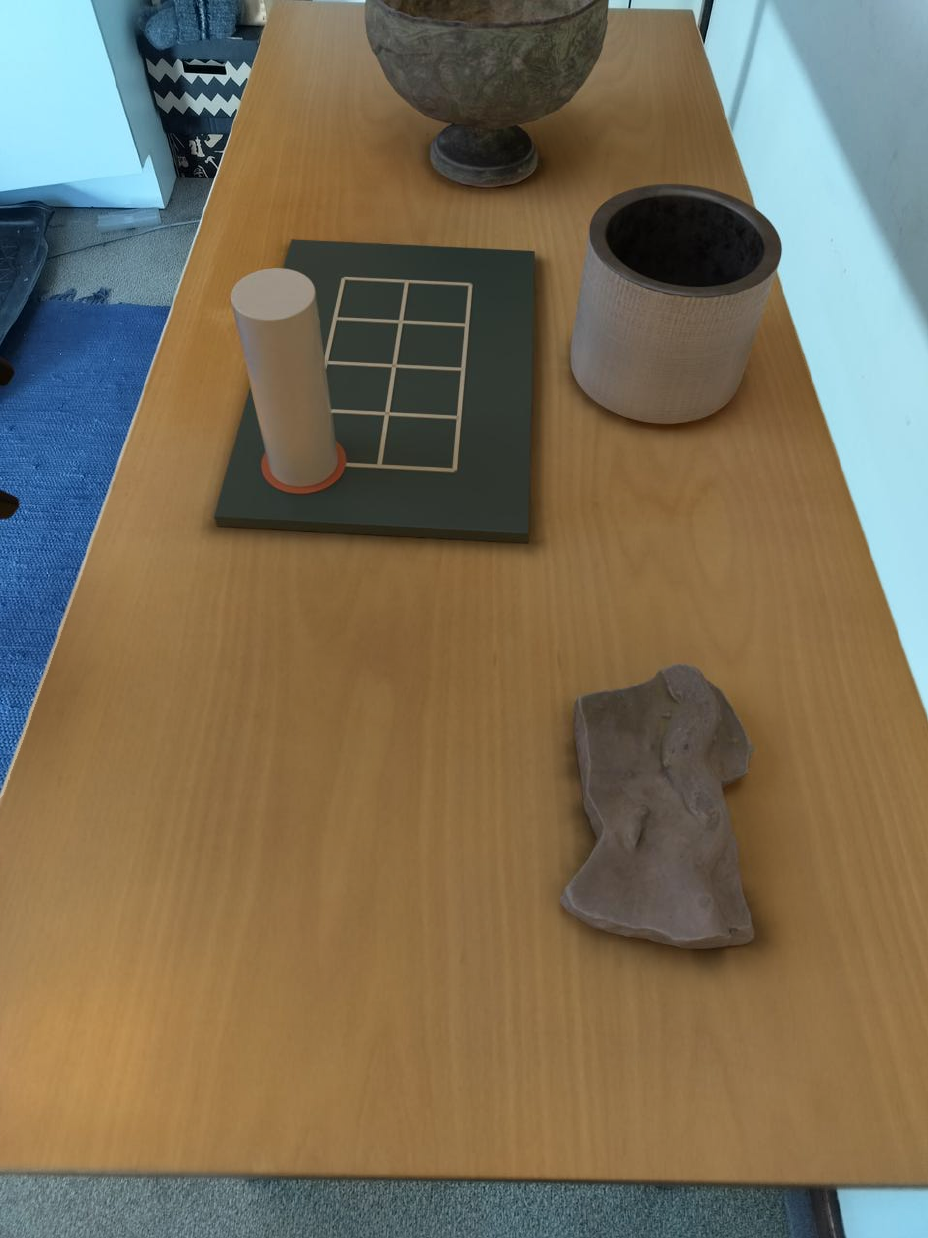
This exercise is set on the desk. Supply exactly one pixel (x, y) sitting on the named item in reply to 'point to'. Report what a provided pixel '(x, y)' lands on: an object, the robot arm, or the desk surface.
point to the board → (409, 397)
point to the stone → (661, 812)
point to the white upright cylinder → (287, 373)
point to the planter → (671, 301)
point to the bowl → (486, 73)
